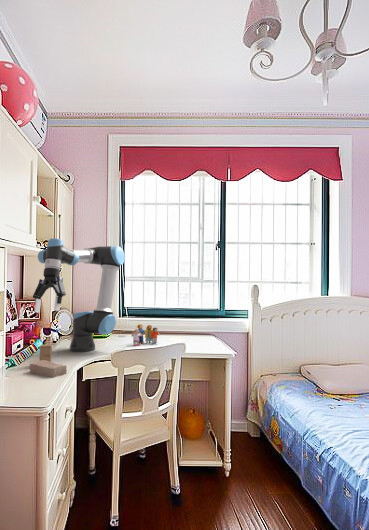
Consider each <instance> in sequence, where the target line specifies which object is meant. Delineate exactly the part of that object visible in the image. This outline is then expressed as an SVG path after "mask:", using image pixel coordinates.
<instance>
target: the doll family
mask: <svg viewBox="0 0 369 530" xmlns="http://www.w3.org/2000/svg"><path fill="white" fill-rule="evenodd" d="M152 327H153V326H152V325H151V324H147V326H146V329H143V324H137V326H136V328H135V329H134V331H132V332H131V337H132V339H133V341H132V342H133V347H138V346H141V345H140V344H143V345H145V344H146V343H151V345H156V344H155V343H158V336H160V335H161V334H160V332H159V331H158V327H153V328H152ZM144 335H145V336H144ZM144 338H145V341H144Z"/></svg>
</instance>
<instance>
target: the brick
mask: <svg viewBox="0 0 369 530" xmlns="http://www.w3.org/2000/svg"><path fill="white" fill-rule="evenodd" d="M67 368H68V367H67V365H66V364H63V363H55V362H52V361H51V362H49V361H46V360H42V361H40V360H38V361H35V362H31V363H30V364H29V373H32V374H36V375H39V374H40V376H46V377H51V378H56V377H60V376H64V375H67V370H68V369H67Z"/></svg>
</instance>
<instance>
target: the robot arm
mask: <svg viewBox="0 0 369 530" xmlns="http://www.w3.org/2000/svg"><path fill="white" fill-rule="evenodd" d="M41 250H42V251H41ZM41 250H39V252H38V253H37V260H38V262H39V263H40V264H44V269H43V273H42V274H43V277H44V279H41V278H40V279H39V280H38V284H37V287H36V288H35V290H34V292H33V295H32V298H33V299H35V300H34V311H33V312H34V313H38V314H39V313H41V307H42V306H41V305H42V298H43V296H44V294H45V293H46V291H47V290H49V289H51V288H53V291H54V292H55V294H56V296H55V300H54V309H53V310H54V311H56V312H60V311H61V310H60V309H61V304H62V301H63V300H62V299H63V297H65V296H66V295H67V294H66V290H65V287H64V283H63V277H61V276H60V274H61V267H62V264H66V265H68V266H75V265H77V264H78V263H84V264H86V265H87V264H88V265H89V264H90V265H99V266H100V267H101V269H102V272H101V278H100V283H99V284H100V285H99V291H98V296H97V303H96V308H94V309H93V310H90V311H79V312H75V313H73V318H72V338H71V341H70V345H69V351H71V352H78V353H79V352H80V353H84V352H91V351H94V350H95V351H96V343H95V340H94V338H93V337H94V335H93V334H97V335H110V334H111V333H112V332H113V331H114V329H115V327H116V323H117V319H116V316H115V315H114V311H113V310H112V305H113V298H114V292H115V286H116V277H117V271H120V267H121V266H122V265H123V264H124V263H125V260H126V256H125V252H124V249H123V248H122V247H121V246H115V245H111V246H109V245H108V246H96V247H86V248H83V249H69V248H67V247H66V246H64V240H63V239H60V238H53V237H52V238H50V239H48V241H47V244H46V249H41Z"/></svg>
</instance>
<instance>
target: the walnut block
mask: <svg viewBox="0 0 369 530" xmlns="http://www.w3.org/2000/svg"><path fill="white" fill-rule="evenodd" d="M52 347H53V346H52V343H51V344H41V345H40V346H39V361H42V360H46V361H49V362H52Z"/></svg>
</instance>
